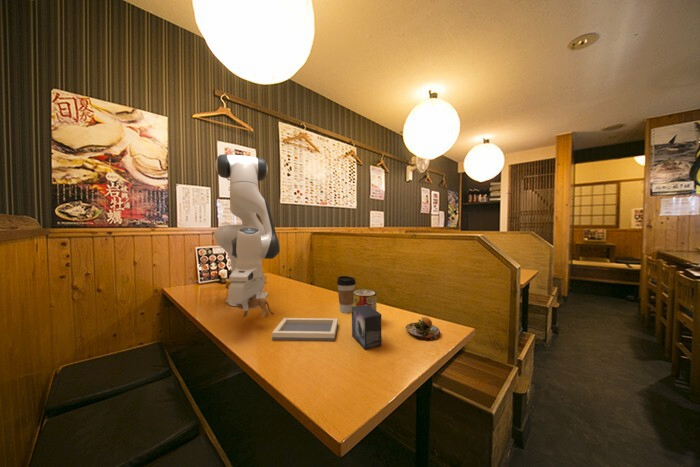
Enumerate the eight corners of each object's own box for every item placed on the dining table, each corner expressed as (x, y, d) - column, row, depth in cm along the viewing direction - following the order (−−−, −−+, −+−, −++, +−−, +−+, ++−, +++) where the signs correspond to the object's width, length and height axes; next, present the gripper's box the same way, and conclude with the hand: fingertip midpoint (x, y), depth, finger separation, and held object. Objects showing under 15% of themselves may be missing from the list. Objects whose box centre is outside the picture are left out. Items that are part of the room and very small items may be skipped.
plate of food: (409, 324, 95) (409, 305, 95) (441, 330, 90) (441, 310, 90) (401, 337, 84) (401, 316, 84) (438, 344, 79) (438, 322, 79)
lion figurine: (230, 319, 88) (232, 293, 89) (234, 315, 93) (235, 291, 94) (273, 317, 91) (274, 292, 92) (274, 313, 96) (275, 290, 97)
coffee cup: (344, 306, 116) (344, 274, 115) (359, 310, 111) (359, 277, 110) (333, 311, 109) (333, 278, 108) (348, 315, 104) (348, 280, 103)
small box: (350, 336, 85) (350, 306, 85) (367, 332, 88) (367, 303, 87) (364, 350, 75) (364, 316, 75) (382, 346, 78) (382, 313, 78)
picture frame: (284, 324, 95) (284, 317, 95) (337, 324, 94) (337, 318, 94) (272, 340, 82) (272, 332, 82) (334, 341, 81) (334, 333, 81)
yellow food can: (350, 325, 94) (350, 294, 93) (357, 317, 102) (357, 288, 102) (373, 328, 91) (373, 296, 90) (378, 320, 99) (378, 290, 99)
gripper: (253, 265, 102) (253, 298, 103) (226, 277, 82) (226, 317, 83) (268, 266, 102) (268, 298, 103) (244, 278, 82) (244, 318, 82)
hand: (249, 307), depth 93 cm, fingers closed on lion figurine, 4 cm apart
